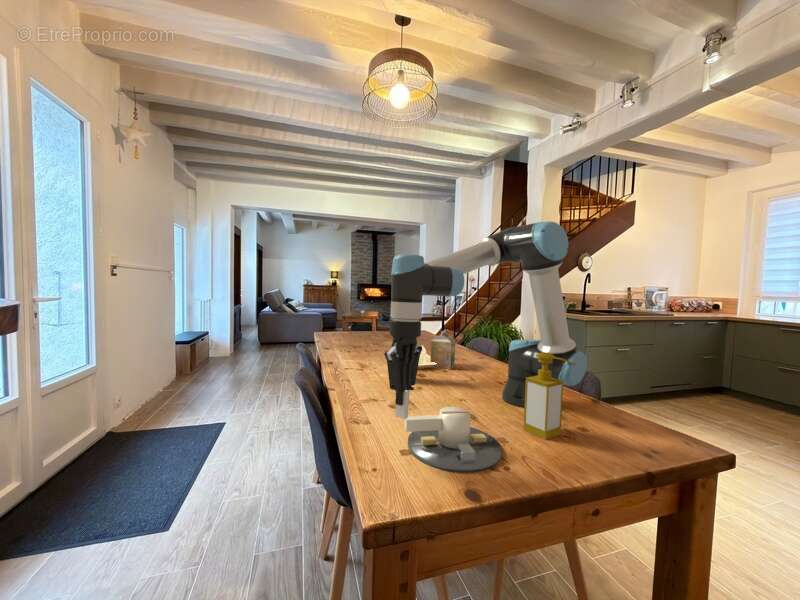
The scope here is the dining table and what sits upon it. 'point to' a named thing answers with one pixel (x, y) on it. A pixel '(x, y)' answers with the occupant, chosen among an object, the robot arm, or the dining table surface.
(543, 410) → the soap bottle
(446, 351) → the milk carton
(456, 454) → the post base
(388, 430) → the dining table surface
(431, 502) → the dining table surface
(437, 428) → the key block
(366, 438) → the dining table surface
